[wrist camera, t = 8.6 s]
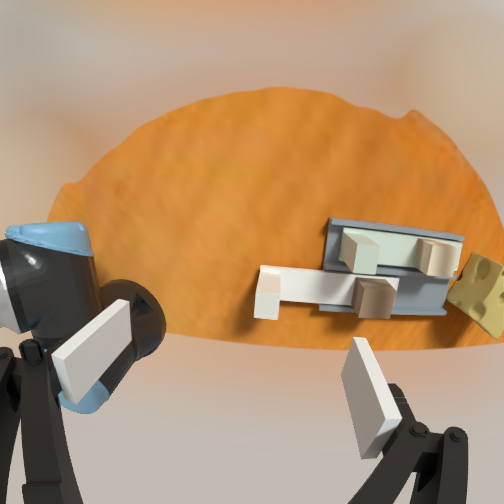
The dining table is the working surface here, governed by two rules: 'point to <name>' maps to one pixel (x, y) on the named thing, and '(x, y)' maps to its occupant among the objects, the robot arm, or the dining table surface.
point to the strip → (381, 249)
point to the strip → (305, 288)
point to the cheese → (481, 293)
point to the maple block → (435, 257)
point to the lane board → (393, 271)
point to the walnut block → (373, 298)
